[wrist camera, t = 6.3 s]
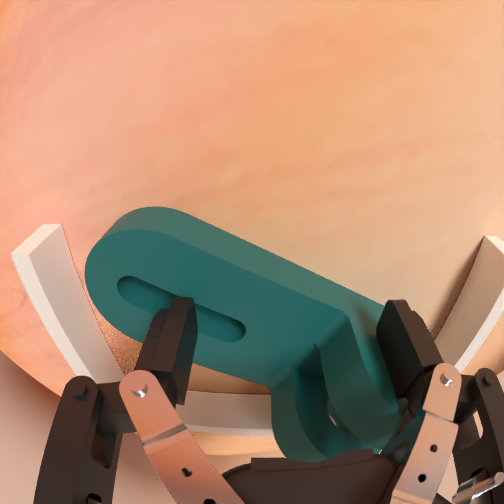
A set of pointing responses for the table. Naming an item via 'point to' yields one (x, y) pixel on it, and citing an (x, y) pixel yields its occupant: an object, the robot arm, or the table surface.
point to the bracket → (255, 326)
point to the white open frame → (223, 404)
